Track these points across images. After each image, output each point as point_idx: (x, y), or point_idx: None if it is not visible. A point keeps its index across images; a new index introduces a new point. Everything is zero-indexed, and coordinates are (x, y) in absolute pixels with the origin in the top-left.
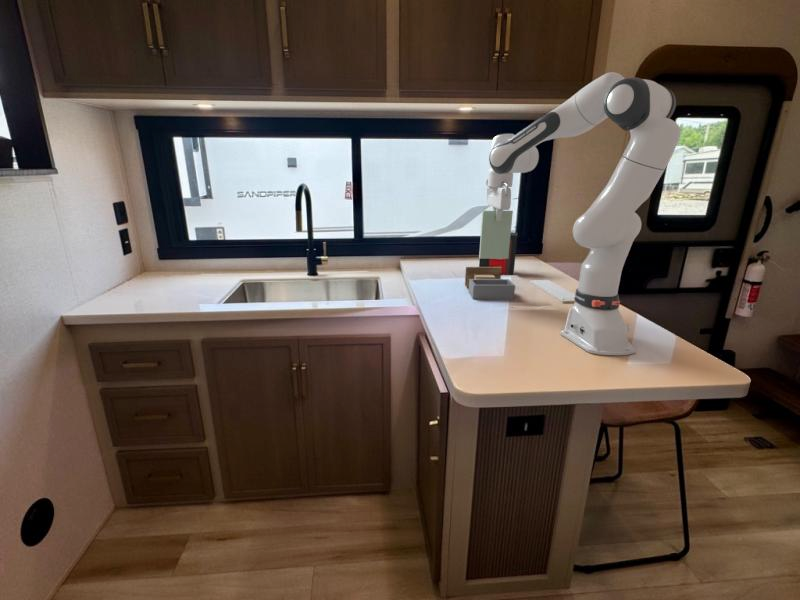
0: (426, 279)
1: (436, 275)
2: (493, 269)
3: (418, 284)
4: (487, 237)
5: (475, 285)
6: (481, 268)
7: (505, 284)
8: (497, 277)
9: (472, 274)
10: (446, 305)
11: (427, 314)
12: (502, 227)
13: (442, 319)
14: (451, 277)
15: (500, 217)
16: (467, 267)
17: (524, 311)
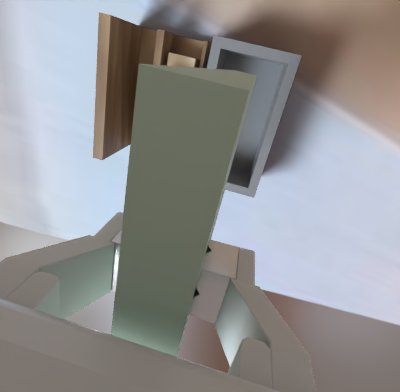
0: (44, 201)
1: (3, 161)
2: (112, 53)
3: (87, 234)
4: (212, 232)
5: (255, 192)
6: (107, 104)
7: (222, 53)
8: (128, 35)
9: (115, 132)
10: (254, 242)
11: (297, 296)
12: (229, 170)
13: (338, 285)
14: (19, 129)
15: (252, 276)
16: (102, 156)
17: (382, 67)
